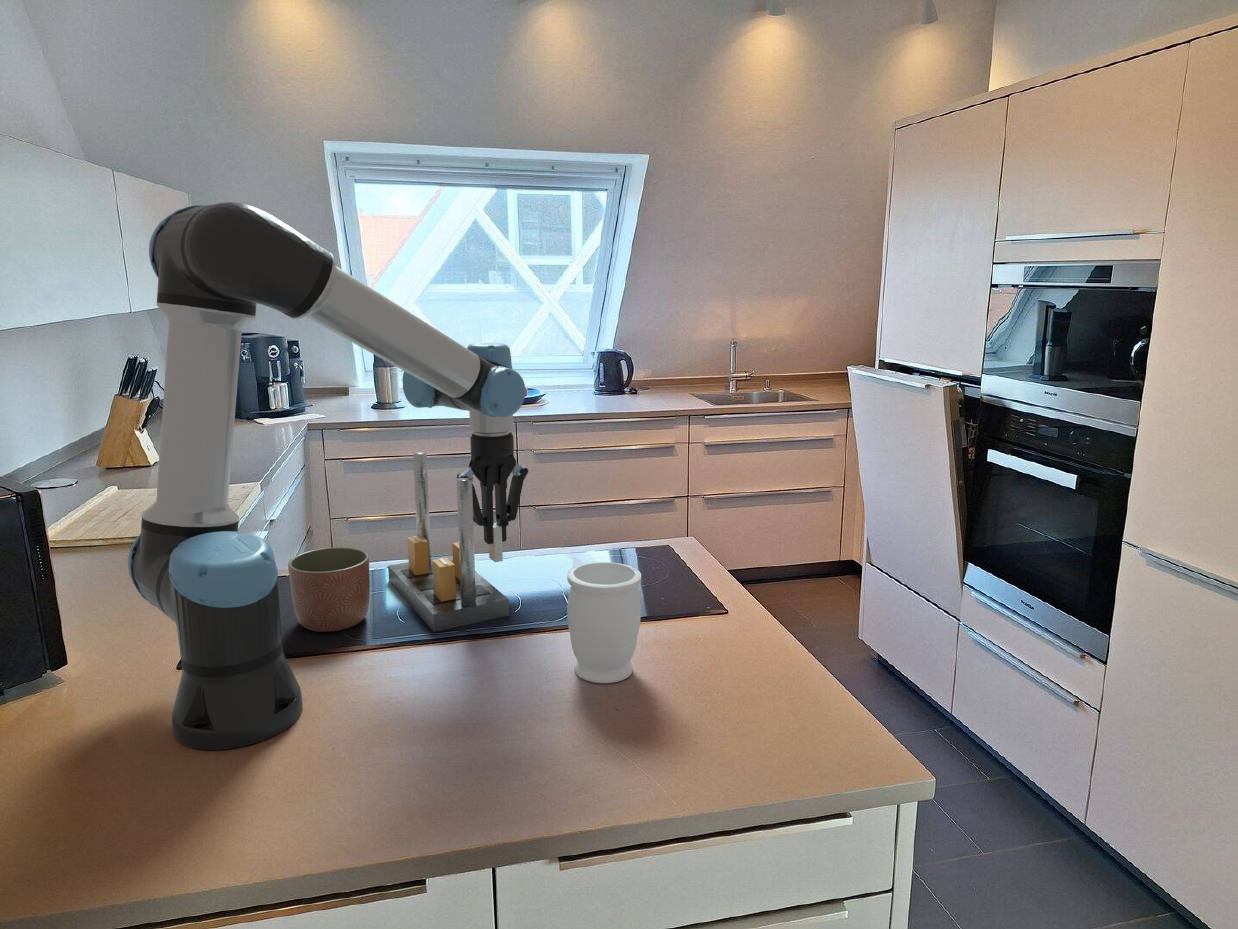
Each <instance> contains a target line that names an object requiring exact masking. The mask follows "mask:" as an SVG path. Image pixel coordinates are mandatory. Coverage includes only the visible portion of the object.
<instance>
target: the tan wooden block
mask: <svg viewBox="0 0 1238 929" xmlns="http://www.w3.org/2000/svg"><path fill="white" fill-rule="evenodd" d="M407 555H408V557H407V558H408V562H409V569H410V570H411V571H412V572H413V573H414V574H415V575H421V574H426V573H429V556H428V541H427V540H426V539H425V538H423V537H422V536H421V535H420V536H417V535H413V536H408V537H407Z"/></svg>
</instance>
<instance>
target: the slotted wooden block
mask: <svg viewBox="0 0 1238 929" xmlns="http://www.w3.org/2000/svg"><path fill="white" fill-rule="evenodd" d="M432 566H433V589H434V594H435V596H436V597H437V598H438V599H439V600H440V601H441V602H442V601H447V600H452V599H456V584H455V564H453V563H452V562H451V561H450V560H449V559H448V558H440V559H436V560H432Z"/></svg>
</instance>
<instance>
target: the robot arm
mask: <svg viewBox="0 0 1238 929" xmlns="http://www.w3.org/2000/svg"><path fill="white" fill-rule="evenodd" d="M148 246H149V247H148V256H149V261H150V262H149V263H150V266H151V268H152V270H153V272H154V273H155V276H156V277H157V279H158V280H157V291H156V292H157V293H156V294H157V295H156V306H157V308H158V309H159V310H160V311H161V312H162V313H163V314H164V315H165V316H166V318H167V320H168V329H167V330H168V331H167V342H166V343H167V346H166V358H165V359H166V361H165V371H164V372H165V373H164V388H163V402H162V414H161V415H162V416H161V429H160V445H159V456H158V457H159V459H158V473H157V474H158V475H157V487H156V500H155V502H154V503H153V504H152V505H150V506H149V507H148V508H147V509H146V510H144V511H143V512H142V514H141V525H140V526H141V527H140V534H139V535H137V537H136V538H135V539H134V541H133V542H132V544H131V546H130V549H129V552H128V558H127V568H128V574H129V577H130V580H131V581H132V584H133V585H134V587H135V589H136V591H137V592H138V593H139V595H141V597H142V598H143V599H144V600H146V601H147V602H148V603H150V605H152V606H153V607H156V609H158V610H159V611H161V612H162V613H163V614H164V615H166V616H167V617H168V618H169V619H171V620H172V622H174V623H175V625H176V631H177V638H178V648H179V654H180V655H179V657H180V662H181V664H180V665H181V676H180V680H179V684H178V688H177V692H176V695H175V696H176V697H175V700H174V704H173V707H172V712H171V724H172V725H171V726H172V732H173V736H174V738H175V740H176V741H177V742H179V743H180V744H182V745H184V746H186V747H188V748H193V749H197V750H204V751H205V750H206V751H208V750H209V751H218V750H228V749H235V748H237V749H238V748H239V747H241V748H242V747H245V746H250V745H253V744H257V743H259V742H262V741H265V740H267V739H270V738H271V737H274V736H276V735H277V734H279V733H282V732H283V731H285V730H286V729H288V728H289V727H291V726H292V725H293V724H294V723H295V722H296V721H297V720H298V719H299V717H300V716H301V714H302V712H303V708H304V707H303V696H302V689H301V687H300V684H299V683H298V680H297V678H296V677H295V676H296V675H295V674H294V672H293V670H292V668H291V666H290V664H289V662H288V660H287V658H286V655H285V652H284V648H283V646H284V645H283V633H282V623H281V622H282V619H281V609H280V607H281V606H280V598H279V597H280V596H279V586H278V585H279V584H278V576H279V574H278V573H279V570H278V566H277V563H276V560H275V554H274V550H273V548H272V546H271V545H270V544H269V543H268V542H267V541H266V540H264V538H261V537H260V536H258V535H255V534H252V533H248V532H242V533H239V523H240V516H239V515H238V514H237V513H236V511H235V510H233V508H231V507H230V504H229V494H230V493H229V492H230V480H231V471H232V470H231V468H232V458H233V457H232V455H233V442H234V434H235V433H234V430H235V418H236V417H235V416H236V406H237V405H236V404H237V396H238V395H237V393H238V382H239V380H238V379H239V371H240V370H239V369H240V368H239V367H240V355H241V346H242V345H241V343H242V342H241V341H242V334H243V332H242V331H243V329H244V328H245V326H247V325H249V324H250V323H251V322H253V321H254V320H255V319H256V314H257V313H256V311H257V304H258V305H261V306H262V305H263V306H265V307H268V308H271V309H273V310H275V311H278V312H280V313H282V314H284V315H286V316H287V317H288V318H290V319H292V320H298V319H303V318H305V317H306V318H307V319H309V320H311V321H313V322H314V323H316V324H319V325H320V326H322V327H324V328H325V329H328V330H329V331H331V332H333V333H335V334H336V335H338V336H339V337H342V338H344V339H345V340H347V341H349V342H351V343H352V344H355V345H357V346H358V347H360V348H361V349H364V350H366V351H368V352H369V353H370V354H372V355H375V356H376V357H378V358H380V359H382V360H383V361H385V362H387V363H388V364H391V365H392V366H394V367H396V368H398V369H399V370H402V371H403V374H402V378H401V379H402V380H401V381H402V390H403V394H404V396H405V398H406V400H407V402H408V403H409V404H410V405H411V406H413V408H418V409H419V408H420V409H421V408H429V409H432V408H435V407H446V408H449V409H450V408H451V409H456V410H461V411H468V412H469V414H468V415H469V431H471V432H472V433H471V434H470V435H469V437H470V455H471V456H470V461H469V464H468V468H467V469H466V470H465V471H463V472H458V473H457V474H456V478H457V479H461V478H470V479H472V494H473V523H475V524H477V526H480V527H481V526H482V527H483V540H484V542H485V543H486V544H487V545H488V554H489V555H488V557H489V559H490V560H491V561H493V562H494V563H498V562H503V561H504V557H503V556H504V555H503V553H504V552H503V542H506V541H507V527H508V526H509V524H510V522H511V521H513V522H514V521H515V520H516V519H517V515H518V510H519V506H520V500H521V494H522V491H523V490H522V489H523V486H524V480H525V479H526V478H527V475H528V473H529V468H527V467H525V466H523V465H521V464H518V462H517V460H516V458H515V456H514V452H515V446H514V443H515V442H514V434H513V432H512V430H514V414H515V413H517V412H518V411H519V410H520V409H521V408H522V406H523V403H524V401H525V398H526V384H525V381H524V378H523V377H522V376H521V375H520V373H519V372H518V371H516V370H515V369H513V366H512V365H513V364H512V363H513V362H512V356H511V354H512V353H511V349H510V347H509V346H508V345H507V344H505V343H501V342H474V343H470V344H468V345H467V347H465V346H464V345H462V344H460V343H459V342H457V341H456V340H454V339H452V338H451V337H449V336H447V335H446V334H445V333H443V332H442V331H440V330H438V329H437V328H435V327H434V326H431V324H429V323H427V322H425V321H424V320H423V319H421V318H419V317H418V316H416V314H415V315H414V314H413V313H411V312H410V311H408V310H407V309H405V308H403V307H402V306H401V305H399V304H397V303H396V302H394V301H393V300H391V299H389V298H388V297H387V296H384V295H382V294H381V293H380V292H378V291H377V290H375V289H373V288H372V287H370V286H369V285H368V284H365V283H364V282H362V281H361V280H360V279H358V278H356V277H354V276H353V275H351V274H350V273H348V272H346V271H345V270H343V269H341V268H340V267H338V266H337V265H336V261H335V257H334V255H333V253H331V252H330V251H328V250H327V249H325V248H323V247H322V246H321V245H319V244H318V243H316V242H315V241H312V239H310V238H309V237H306V236H305V235H304V234H302V233H301V232H299V231H297V230H296V229H294V228H293V227H292V226H290V225H288V224H286V223H285V222H283V221H282V220H280V219H278V218H277V217H275V216H273V214H270V213H269V212H266V211H264V210H261V209H260V208H258V207H256V206H252V205H249V204H246V203H242V202H236V201H235V202H233V201H227V202H226V201H225V202H224V201H223V202H219V203H215V204H207V205H200V204H197V205H190V206H185V207H182V208H180V209H177V210H176V211H174V212H172V213H171V214H169V215H167V216H166V217H165V218H163V219H162V220H161V221H160V222H159V223H158V224H157V226H156V227H155V228H154V231H153V232H152V235H151V237H150V241H149V245H148ZM511 474H512V477H511V481H510V484H509V485H510V487H509V491H508V496H507V488H508V479H509V477H510V476H511ZM473 475H474V476H475V478H476V479H477V480H478V481H479V486H480V490H481V491H480V492H481V493H480V494H481V495H480V496H481V506H480V503H479V499H478V495H477V491H476V489H475V485H474V484H473V482H474V476H473ZM493 492H494V493H493ZM493 496H494V497H493ZM494 502H495V503H494ZM494 505H495V507H494ZM494 508H495V518H494ZM495 521H496V522H495Z"/></svg>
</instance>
